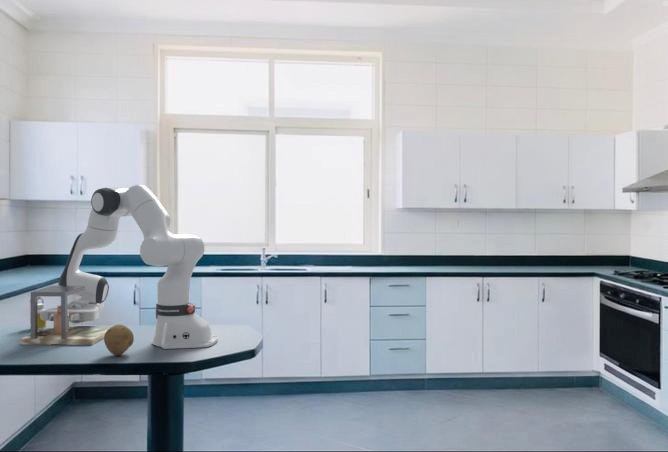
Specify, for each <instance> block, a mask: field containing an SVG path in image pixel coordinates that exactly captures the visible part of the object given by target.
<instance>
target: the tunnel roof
mask: <svg viewBox="0 0 668 452" xmlns="http://www.w3.org/2000/svg"><path fill="white" fill-rule="evenodd" d="M83 290H85V286H59V285H50V286H46V287H43V288H40V289H36V290H33V291H30V313H31V315H30V335H31V339H36V338H38V331H39V330H38V318H37V304H38V297H60V306H61V339H67V338H68V304H69V303H68V296H70V295H72V294H74V293H77V292H80V291H83Z"/></svg>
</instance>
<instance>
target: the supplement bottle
mask: <svg viewBox="0 0 668 452" xmlns="http://www.w3.org/2000/svg"><path fill="white" fill-rule="evenodd" d="M43 310H46V308H45V303H40V302H39V303H38V302H37V318H38V331H40V330H43V329H44V328H47V321H43V320H41V318H40V313H41V311H43ZM29 315H30V316H31V312H30V314H29Z"/></svg>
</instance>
